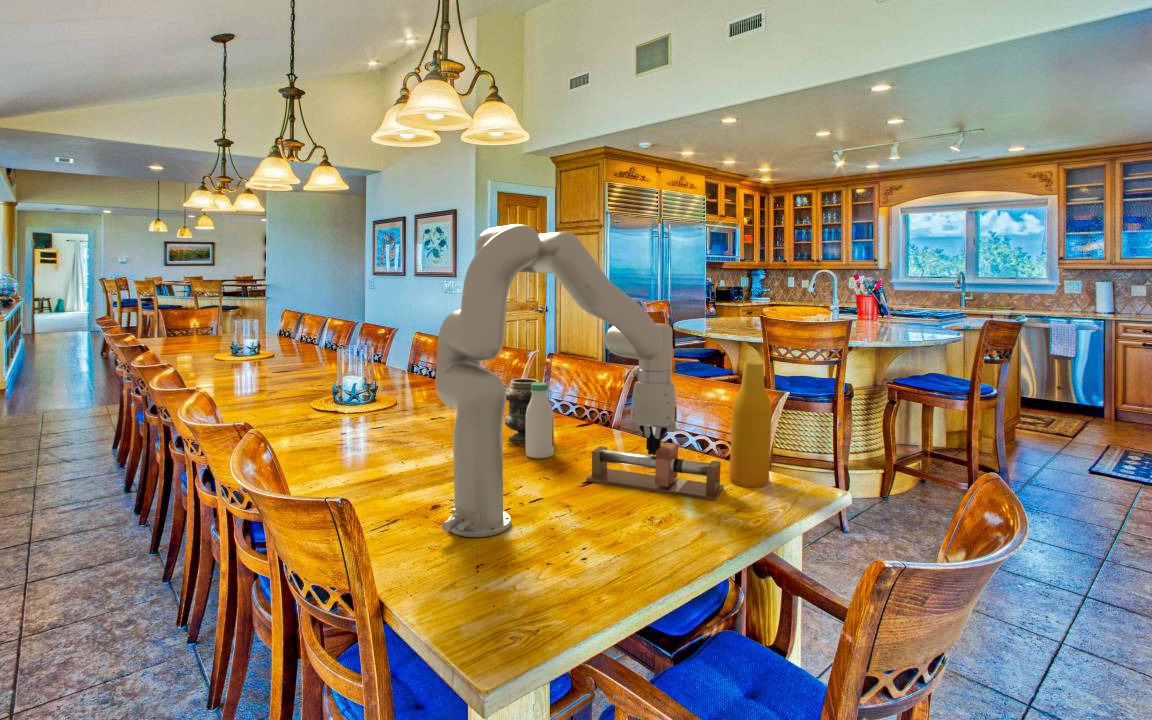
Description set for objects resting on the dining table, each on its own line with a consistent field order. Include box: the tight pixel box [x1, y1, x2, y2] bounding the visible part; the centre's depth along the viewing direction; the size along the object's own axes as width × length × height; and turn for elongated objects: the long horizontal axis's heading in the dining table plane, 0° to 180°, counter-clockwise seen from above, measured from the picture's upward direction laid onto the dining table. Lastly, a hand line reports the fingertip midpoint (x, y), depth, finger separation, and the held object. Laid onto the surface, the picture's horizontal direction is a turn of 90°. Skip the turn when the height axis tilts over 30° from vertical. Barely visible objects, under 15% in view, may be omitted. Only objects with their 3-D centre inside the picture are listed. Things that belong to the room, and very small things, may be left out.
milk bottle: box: [525, 382, 555, 459], centre depth 172 cm, size 8×8×20 cm
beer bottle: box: [728, 361, 773, 489], centre depth 150 cm, size 9×9×29 cm
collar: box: [654, 442, 679, 487], centre depth 147 cm, size 8×3×8 cm, turn 155°
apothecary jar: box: [503, 377, 540, 444], centre depth 189 cm, size 12×12×18 cm
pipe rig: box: [586, 445, 724, 502], centre depth 149 cm, size 9×31×7 cm, turn 65°
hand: (653, 453), depth 148 cm, fingers closed
